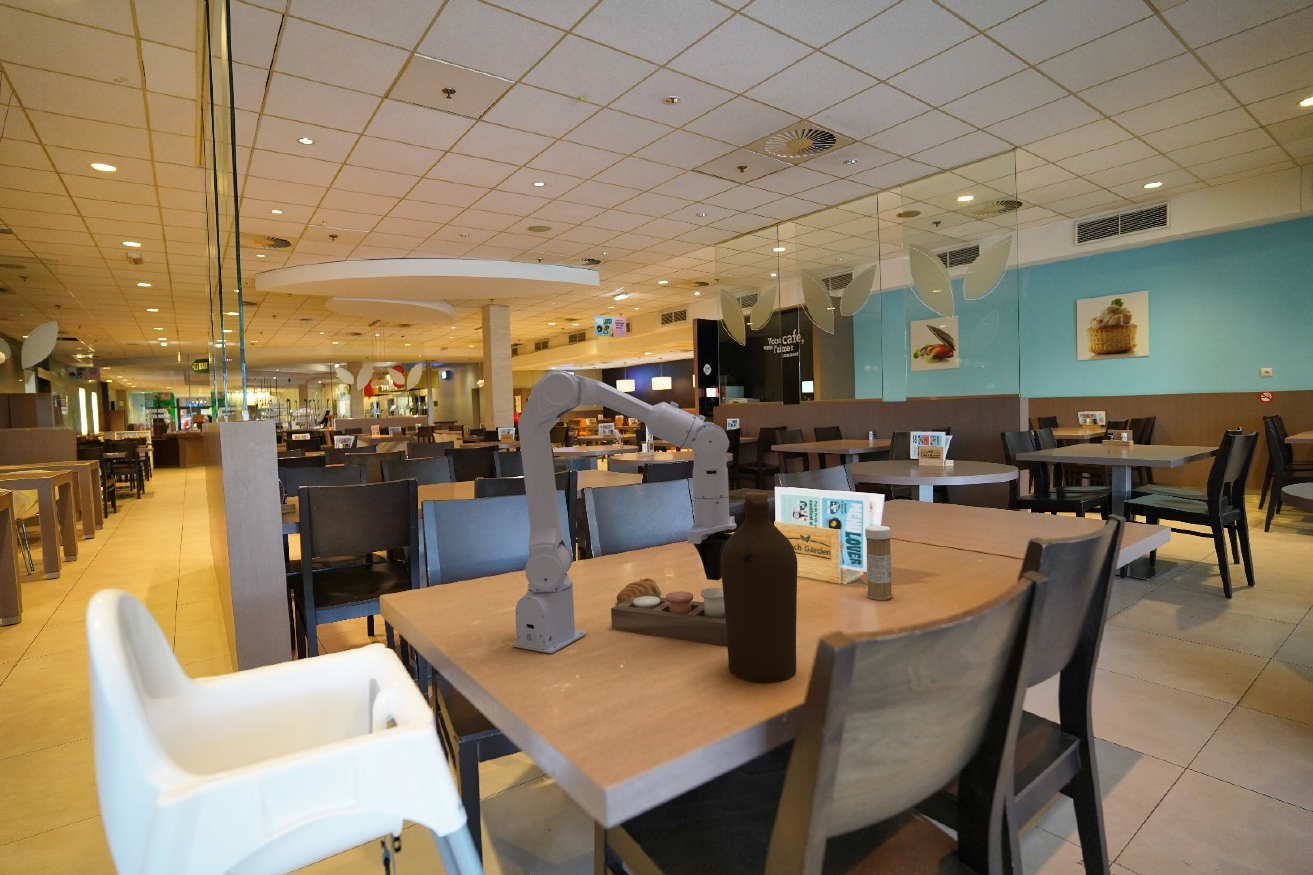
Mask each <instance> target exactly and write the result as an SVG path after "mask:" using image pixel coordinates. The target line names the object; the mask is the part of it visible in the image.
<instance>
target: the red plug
mask: <svg viewBox="0 0 1313 875" xmlns="http://www.w3.org/2000/svg"><path fill="white" fill-rule="evenodd" d="M665 598H666V600H667V601H669V610H670V612H674V613H682V614H688V613H689V612H691V602H690V601H694V594H693V593H692V592H688V591H673V592H672V591H671V592H669V593H667V594H665Z"/></svg>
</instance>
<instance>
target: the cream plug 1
mask: <svg viewBox="0 0 1313 875" xmlns="http://www.w3.org/2000/svg"><path fill="white" fill-rule="evenodd" d="M633 603H634V606H637V608H643V609H651V610H653V609H654V608H656V607H657V605H659V604H660V599H659V598H658V597H653V596H644V597H638V598H636V599H634V600H633Z"/></svg>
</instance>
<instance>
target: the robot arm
mask: <svg viewBox="0 0 1313 875" xmlns="http://www.w3.org/2000/svg"><path fill="white" fill-rule="evenodd" d="M599 405H600V406H603V407H605V408H608V409H611V410H612V411H616V412H618V413H620V414H622V415H624V416H627V417H630V418H632V419H635V420H637V421H639V422H642V423H644V424H645V426H646V428H647V431H648V434H649V435H651V436H654V437H656V438H658V439H660V440H663V441H664V442H667V443H669V444H671V445H673V446H676V447H678V448H681V449H683V450H686V449H691V451H692V452H693V453H694V454H693V469H692V486H693V487H692V491H693V512H694V513H693V514H694V516H693V517H694V523H692V526H691V528H690V529H689V530H687V531H686V532H687V534H686V535H687V540H686V541H687V543H688V544H692V545H693V546H694V547H695V549H696V550H697V553H698V555H699V557H700V561H701V563H702V566H703V567H702V568H703V570H704V574H705V577H706V580H709V581H720V580H722V574H721V556H722V552H723V548H724V546H725V544H726V542H727V541H728V539H729V538H730V537H731V536H732V535H733V533H724V532H725V531H728V530H735V529H737V523H736V522H735V521H736V520H735V516H734V515H733V516H730V498H729V496H730V494H729V472H728V470H729V469H728V466H727V461H728V458H727V454H726V453H727V452H728V450H729V447H730V440H729V438H728V435H727V433H726V431H725V430H724V428H723V427H721V426H719V424H718V425H717V424H716V423H713V422H712V421H705V420H706V416H704V415H701V414H699V415H698V416H697V415H695V414H692V413H691V412H688V411H686V410H683V409H680V408H679V403H676V402H675V401H670V404H669V403H667V402H665V401H661V402H659V403H657V404H654V405H652V404H649V403H647V402H645V401H643V400H640V398H636V397H634V396H633V395H630V394H628V393H625V392H624V391H621V390H619V389H617V388H615V387H613V386H611V385H609V384H606V383H605V382H603V381H601V380H597V379H593V378H590V377H586V376H581V375H579V374H573V373H571V372H568V371H566V370H563V369H554V370H551V371H548V372H547V373H546V374H543V376H542V377H540V378H539V380H538V381H536V382H535V383H534V384H533V386H532V389H531V393H530V395H529V397H528V400H527V401H526V404H525V406H524V408H523V410H522V412H521V414H520V416H519V418H518V421H517V428H518V436H519V437H518V438H519V444H520V446H519V448H520V454H521V461H522V470H523V472H522V473H523V478H524V479H523V480H524V487H525V496H526V497H525V498H526V503H527V504H526V505H527V513H528V520H529V529H530V530H529V531H530V533H529V540H528V559H527V562H526V564H525V569H524V572H525V577H526V580H527V582H528V584H527V592H526V593H525V595H524V596H522V597H521V598H520V599H519V600H518V601H517V602H516V606H515V609H514V610H515V629H516V630H515V631H516V633H515V634H516V642H513V644H512V647H513V648H514V647H515V648H520V649H524V650H529V651H534V652H535V651H536V652H542V653H545V654H546V653H547V654H554V653H555V652H557V651H560V650H561V649H562V648H565V647H566V646H568V645H569V644H572V643H573V642H575V641H577V640H579V639H581V638H583V637H584V636H586V635H587V633H586V631H582V630H577V629H576V628H575V608H574V589H573V588H574V587H573V586H574V585H573V584H574V583H573V579H571V578H570V576H569V574H568V573H567V572H569V570H570V569H571V567H572V563H573V555H572V552H571V549H570V548H569V547H568V545H567V543H566V540H565V535H564V531H563V529H562V526H561V518H560V511H559V502H558V495H557V494H558V493H557V485H556V478H555V469H554V459H553V452H552V451H553V450H552V444H551V433H550V431H551V430H552V429H553V428H554V426H555V425H556V424H557V423H559V421H560V420H561V419H562V417H563V416H565V415H566V414H568V413H570V412H571V411H573V410H575V409H576V408H578V407H579V406H599Z"/></svg>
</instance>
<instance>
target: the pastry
mask: <svg viewBox="0 0 1313 875" xmlns="http://www.w3.org/2000/svg"><path fill="white" fill-rule="evenodd" d="M636 595H645V596H654V597H662V590H660V587H659V585H658V584H657V581H655V580H654V579H653V578H649V577H647V578H643V579H642V578H640V579H639V580H637V581H636V580H635V581H634V582H630V583H628V584H626V585H625V587H624V588H623V589H622V590H620V591H619V592H618V594H617V596H616V604H617V605H619V604H621V603H622V602H624V601H626V600H628V599H630V598H632V597H634V596H636Z"/></svg>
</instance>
